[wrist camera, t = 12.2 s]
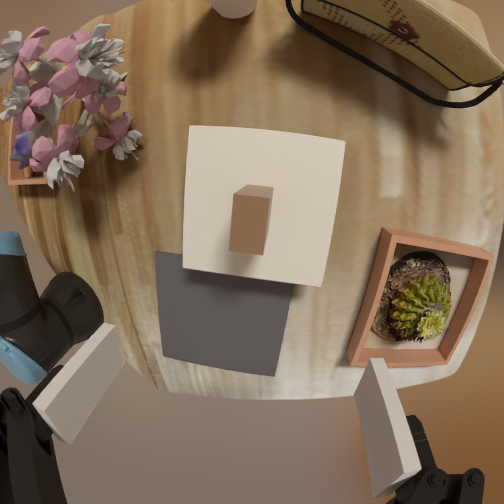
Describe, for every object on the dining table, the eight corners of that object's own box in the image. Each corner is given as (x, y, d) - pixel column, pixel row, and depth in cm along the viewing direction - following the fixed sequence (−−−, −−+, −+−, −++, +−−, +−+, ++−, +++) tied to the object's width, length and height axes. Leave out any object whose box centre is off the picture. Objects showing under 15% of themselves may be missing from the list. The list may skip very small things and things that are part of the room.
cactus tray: (346, 351, 44) (349, 366, 41) (382, 227, 37) (392, 234, 33) (439, 352, 43) (447, 364, 39) (481, 247, 35) (493, 255, 31)
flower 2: (48, 179, 38) (-22, 225, 17) (49, 65, 29) (-18, 33, 8) (146, 165, 45) (136, 199, 24) (150, 48, 35) (149, -15, 14)
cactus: (393, 237, 37) (420, 261, 28) (461, 264, 37) (491, 288, 28) (351, 330, 43) (363, 368, 34) (419, 343, 43) (438, 376, 34)
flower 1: (42, 117, 30) (-1, 139, 27) (54, 161, 36) (12, 179, 33) (56, 107, 36) (17, 125, 33) (65, 145, 42) (27, 160, 39)
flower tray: (21, 182, 41) (8, 185, 37) (24, 111, 36) (12, 111, 32) (61, 180, 40) (46, 183, 36) (66, 97, 34) (52, 95, 31)
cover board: (184, 265, 36) (154, 300, 27) (191, 126, 29) (156, 116, 20) (320, 284, 34) (330, 327, 25) (344, 141, 28) (369, 135, 19)
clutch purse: (278, 30, 29) (273, -28, 15) (294, -1, 26) (296, -59, 12) (452, 122, 30) (514, 116, 15) (461, 89, 27) (518, 74, 13)
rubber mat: (164, 354, 50) (163, 356, 49) (156, 251, 42) (155, 252, 42) (274, 374, 48) (274, 376, 47) (295, 270, 40) (295, 271, 40)
